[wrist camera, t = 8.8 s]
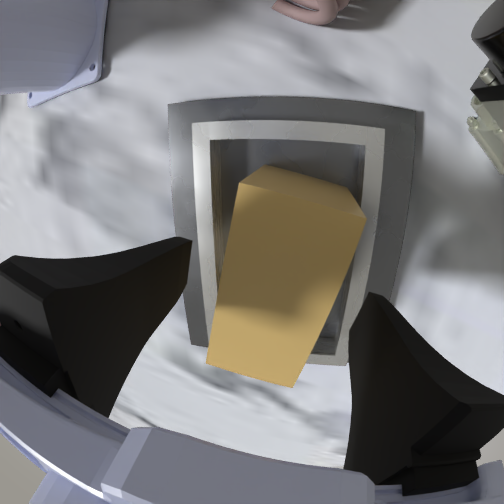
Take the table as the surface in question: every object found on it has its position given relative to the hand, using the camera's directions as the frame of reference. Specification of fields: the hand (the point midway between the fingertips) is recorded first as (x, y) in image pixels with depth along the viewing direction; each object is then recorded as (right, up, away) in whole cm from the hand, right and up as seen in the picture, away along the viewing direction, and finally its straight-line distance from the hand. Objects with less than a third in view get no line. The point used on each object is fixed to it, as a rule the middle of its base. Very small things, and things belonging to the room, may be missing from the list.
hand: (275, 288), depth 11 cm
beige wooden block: (+1, +1, +4) cm, 4 cm away
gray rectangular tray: (+1, +2, +4) cm, 5 cm away
